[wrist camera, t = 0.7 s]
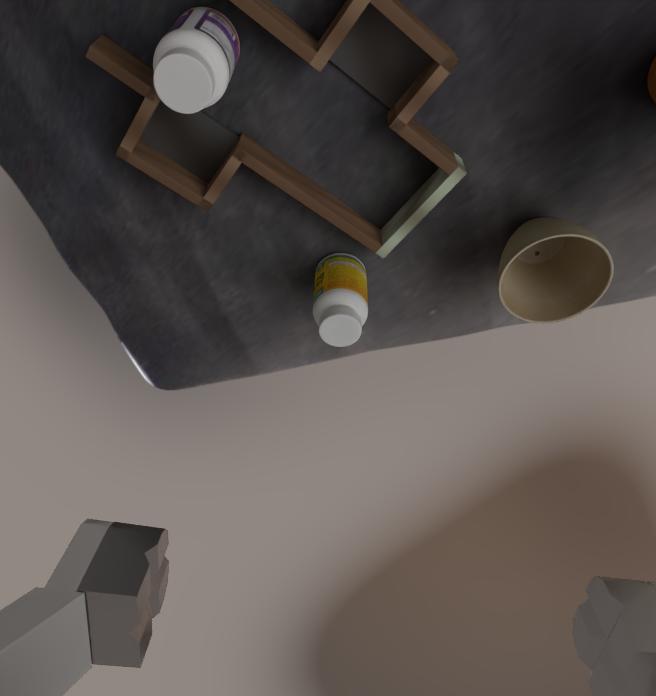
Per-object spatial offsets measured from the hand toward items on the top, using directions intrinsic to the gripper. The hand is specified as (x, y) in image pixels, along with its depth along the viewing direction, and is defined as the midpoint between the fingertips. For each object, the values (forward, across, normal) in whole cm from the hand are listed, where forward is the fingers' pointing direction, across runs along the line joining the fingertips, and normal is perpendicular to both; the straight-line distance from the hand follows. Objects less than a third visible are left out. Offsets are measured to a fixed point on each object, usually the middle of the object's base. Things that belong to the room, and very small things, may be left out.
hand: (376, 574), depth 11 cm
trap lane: (+46, +6, -4) cm, 46 cm away
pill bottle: (+45, +13, -8) cm, 47 cm away
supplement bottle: (+51, 0, +12) cm, 52 cm away
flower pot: (+50, -19, +6) cm, 54 cm away
